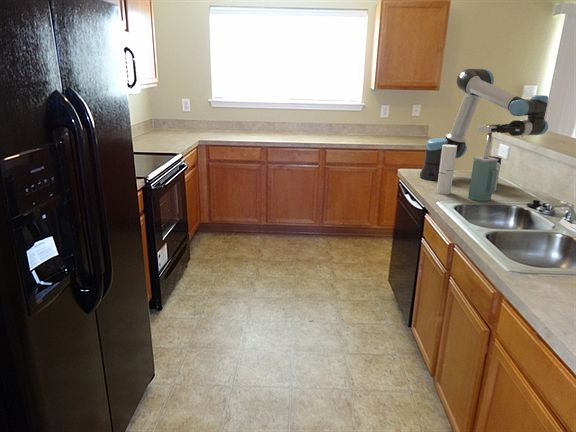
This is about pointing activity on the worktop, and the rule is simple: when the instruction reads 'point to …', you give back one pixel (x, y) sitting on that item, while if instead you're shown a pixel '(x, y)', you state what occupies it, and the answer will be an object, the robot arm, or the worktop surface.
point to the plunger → (488, 144)
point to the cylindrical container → (446, 169)
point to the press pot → (483, 179)
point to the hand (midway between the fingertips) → (481, 129)
